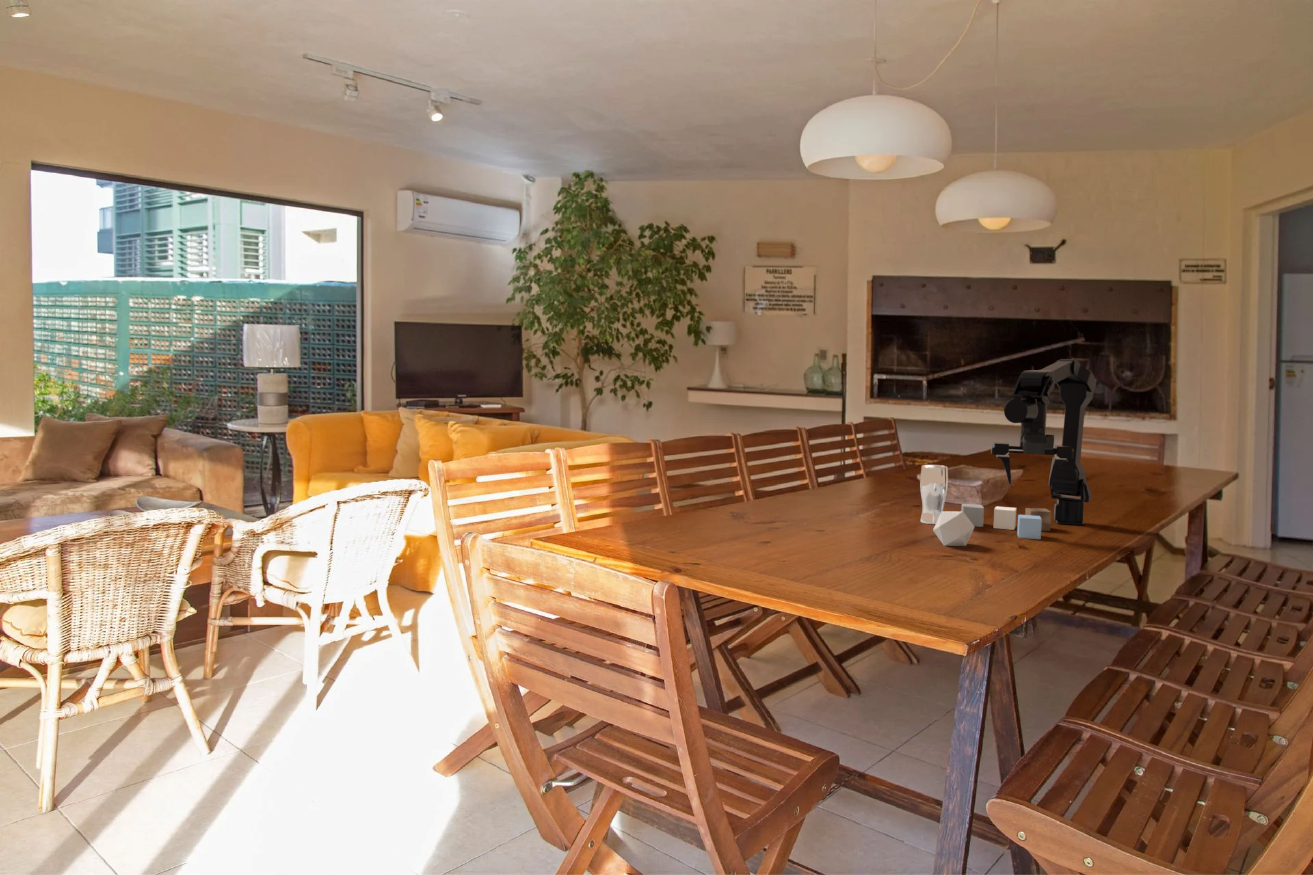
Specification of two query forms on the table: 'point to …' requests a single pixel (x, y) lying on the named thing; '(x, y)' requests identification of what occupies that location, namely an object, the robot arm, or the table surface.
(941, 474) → the beer glass
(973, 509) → the grey cube
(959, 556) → the table surface
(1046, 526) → the walnut cube
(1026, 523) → the bluish grey cube
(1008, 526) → the cream cube
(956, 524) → the die
